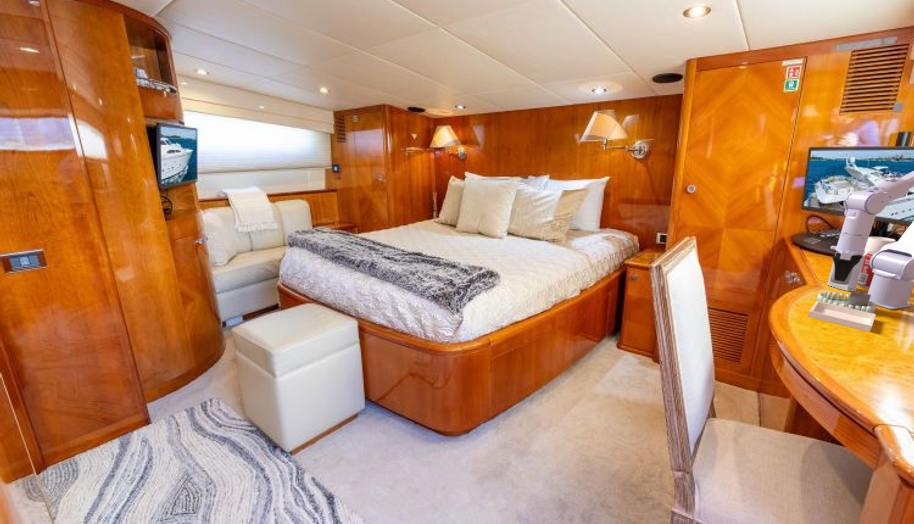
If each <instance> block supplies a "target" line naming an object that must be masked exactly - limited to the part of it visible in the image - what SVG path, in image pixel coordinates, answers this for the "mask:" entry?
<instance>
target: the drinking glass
mask: <svg viewBox="0 0 914 524" xmlns="http://www.w3.org/2000/svg"><path fill="white" fill-rule="evenodd" d="M894 242H897V240H896V239H895V238H888V237H883V236H869V238H868V241H867V244H866V247H865V253H864V254H862V255H866V254H867V253H868V252H878V251H879V250H881V248H882V247H883V246H884V245H887V244H891V243H894Z"/></svg>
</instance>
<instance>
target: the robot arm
mask: <svg viewBox="0 0 914 524" xmlns="http://www.w3.org/2000/svg"><path fill="white" fill-rule="evenodd" d="M912 188H914V170H913V171H911V172H909V173H907V174H905V175H904V176H903V175H902V176H901V177H887V178H885V179H884V181H882V182H879V183H878V184H877V183H876V184H875V185H872V186H870V187H868V188H867V189H865V190H855V191H853V192H851V193H849V195H847V197H846V198H845V199H844V200H843V208H844V213H843V214H844V217H845V218H844V221H843V225H842V228H841V232H840V234H839V238H838V241H837V244H836V246H835V245H831V246H830V249H831V250H835V251H836V252H839V253H836V252H835V253H836V255H835V254H833V255H832V261H834V265H835V274H834V279H835V280H837V281H843V282H844V281H845V280H846V279H847V277H848V275H849V273H850V272H851V270H852V269H853V267H854V266H855V265H856V264H858V263H859V262H860V259H861V258H862V257H863V256H862V255H863V254H864V253H865V247H866V244H867V241H868V238H869V237H870V234H871V230H872V228H873V226H874V225H873V224H874V222H875V219H876V216H877V214H878V213H882V211H884V209H886V207H887V206H888V205H889V204H890V203H892V202H893V201H896V200H897V199H901V198H902V197H904V196H906V195H907V194H908V193H909V192H910V189H912ZM870 267H871V268H872V269H873V270H872V272H874V276H873V279H872V282H871V285H870V288H869V289H868V292H867V294H870V295H871V297H870V301H872V302H874V303H875V304H876V305H877V307H882V308H885V309H888V310H895V309H902V308H903V309H904V308H908V307H911V306H912V304H909V300H910V298H911V295H912V292H913V289H914V220H913V221H912V223H911V224H910V225H909V226H908V227H907V229H906V230H905V232H904V233H903V234H902V235H901V237H900V238H898V241H897V240H896V241H895V242H894V243H891V244H887V245H884V246H883V247H882V248H881V250H879V251H878V252H876V253H875V254H874V255H873V256H872V257H871V259H870Z"/></svg>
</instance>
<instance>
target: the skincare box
mask: <svg viewBox="0 0 914 524" xmlns="http://www.w3.org/2000/svg"><path fill="white" fill-rule="evenodd" d="M836 253H839V252H838V251H836V252H835V253H834V255H836ZM861 255H862V256H863V257H862V258H861V259H860V262H859V263H858V264H856V265H855V266H854V267H853V272H852V275H851V278H850V281H849V284H848V285H843V284H837V283H833V282H831V281H830V279H831V276H832V273H833V270H834V266H835V265H834V261H833V260H832V261H833V262H832V265H831V269H830V271H829V272H830V273H829V276H828V281H827V286H828V285H829V287H831V286H832V287H831V288H834V287H835V288H834V289H838V290H842V291H846V292H852V291H853V290H854V291H857V287H858V286H857V283H858V279H859V276H860V272H861V269H862V266H863V262H864V259H865V256H864V255H863V254H861Z"/></svg>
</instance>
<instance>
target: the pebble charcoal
mask: <svg viewBox="0 0 914 524" xmlns="http://www.w3.org/2000/svg"><path fill="white" fill-rule="evenodd" d="M849 294H850V297H849V301H848V304H847V307H848V306H849V305H853V306H854V307H853V309H855V307H856V306H860V307H861V308H862V306H865V307H867V306H868V303H869V300H870V297H871V295H870V294H868V292H863V291H858V290H854V291H850V293H849ZM861 308H860V311H861Z"/></svg>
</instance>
